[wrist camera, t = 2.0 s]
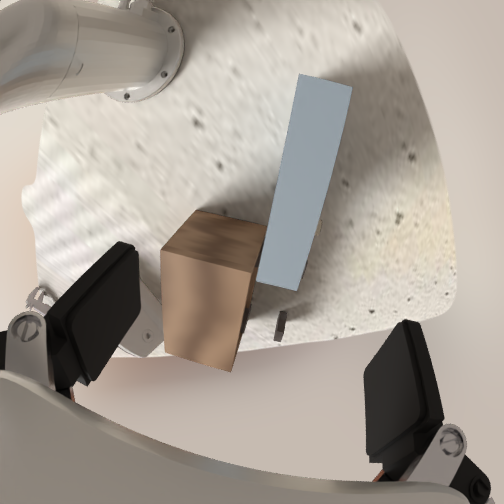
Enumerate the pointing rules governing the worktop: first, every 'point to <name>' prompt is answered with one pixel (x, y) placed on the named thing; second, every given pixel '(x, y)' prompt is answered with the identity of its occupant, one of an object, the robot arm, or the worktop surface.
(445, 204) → the worktop surface
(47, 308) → the caliper
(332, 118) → the door
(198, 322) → the cabinet
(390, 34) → the worktop surface
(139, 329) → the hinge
